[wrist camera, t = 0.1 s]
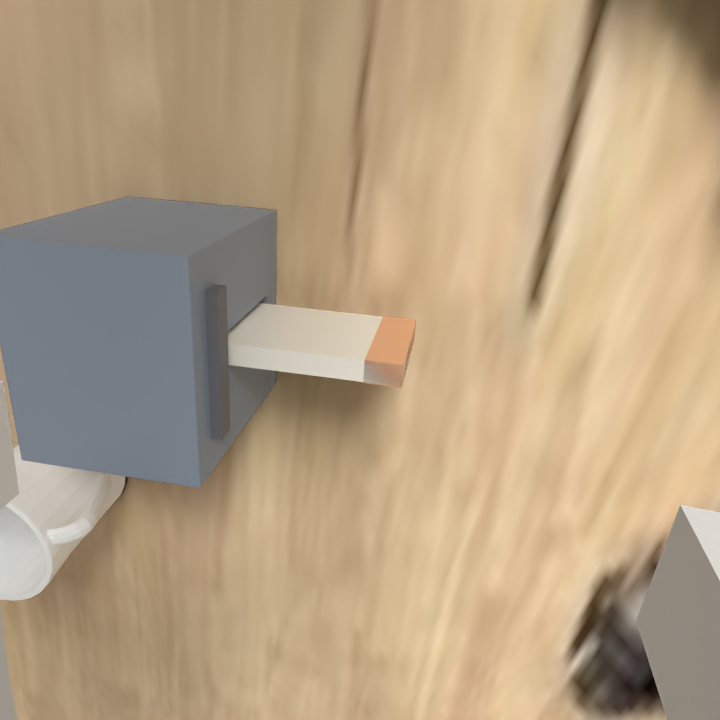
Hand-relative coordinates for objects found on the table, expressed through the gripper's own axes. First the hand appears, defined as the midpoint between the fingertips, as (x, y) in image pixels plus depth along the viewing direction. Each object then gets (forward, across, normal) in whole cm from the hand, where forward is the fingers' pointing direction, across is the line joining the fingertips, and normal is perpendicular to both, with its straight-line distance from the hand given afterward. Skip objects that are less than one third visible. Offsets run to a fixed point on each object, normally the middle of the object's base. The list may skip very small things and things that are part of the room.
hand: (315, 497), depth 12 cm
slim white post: (+25, -9, -6) cm, 27 cm away
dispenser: (+28, -14, -6) cm, 32 cm away
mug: (+28, -23, -22) cm, 42 cm away
